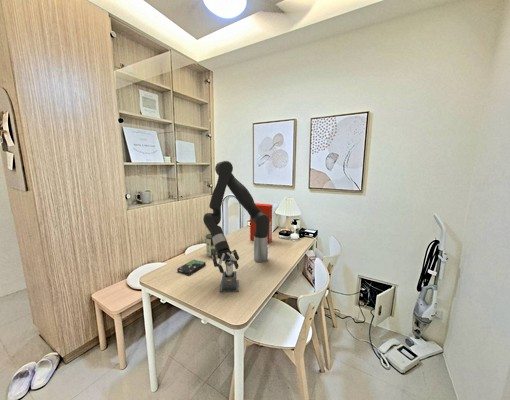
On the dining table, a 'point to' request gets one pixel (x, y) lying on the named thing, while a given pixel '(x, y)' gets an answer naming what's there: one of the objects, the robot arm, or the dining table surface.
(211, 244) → the coffee can
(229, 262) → the column
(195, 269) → the disk drive
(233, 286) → the stand
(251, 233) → the file binder
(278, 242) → the dining table surface
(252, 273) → the dining table surface
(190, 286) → the dining table surface
